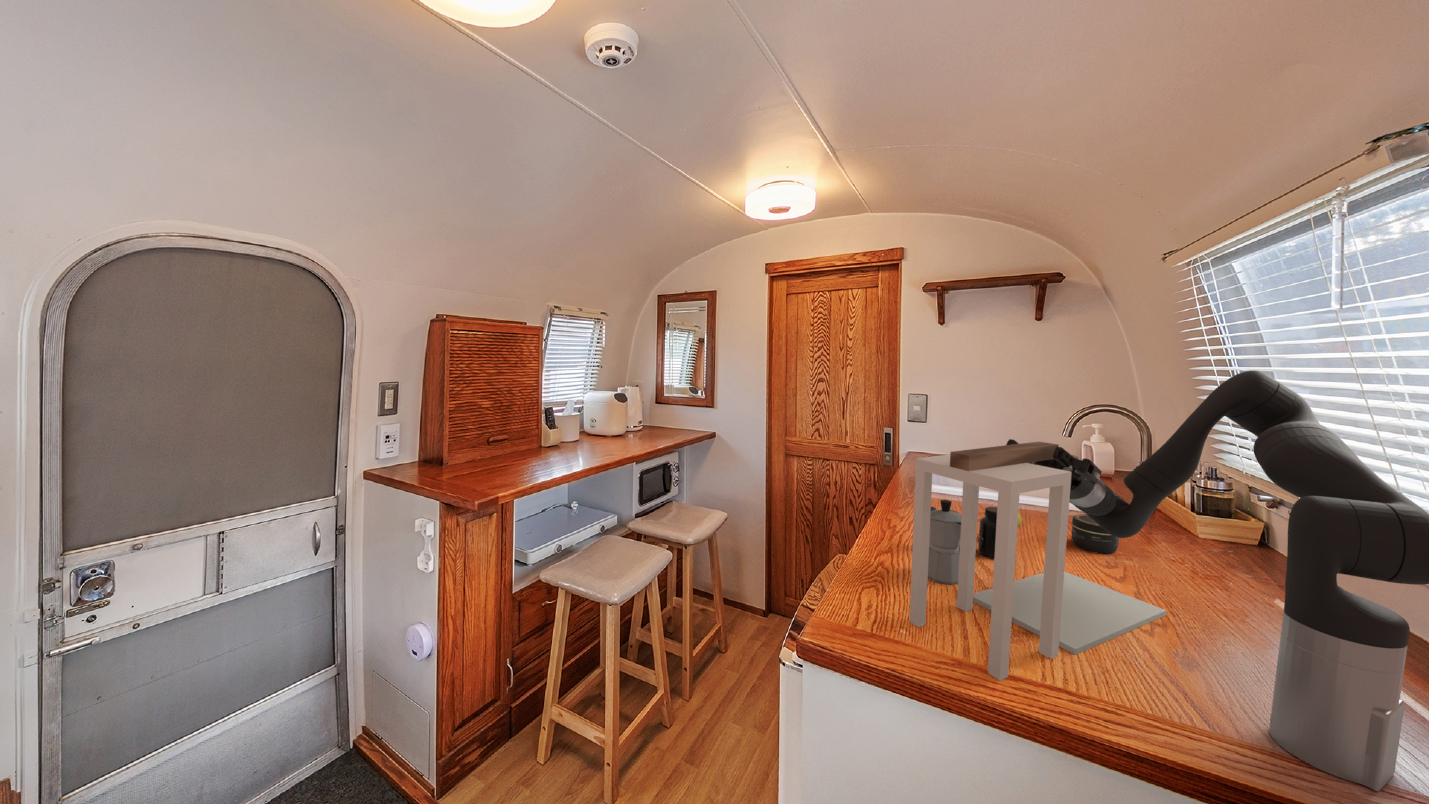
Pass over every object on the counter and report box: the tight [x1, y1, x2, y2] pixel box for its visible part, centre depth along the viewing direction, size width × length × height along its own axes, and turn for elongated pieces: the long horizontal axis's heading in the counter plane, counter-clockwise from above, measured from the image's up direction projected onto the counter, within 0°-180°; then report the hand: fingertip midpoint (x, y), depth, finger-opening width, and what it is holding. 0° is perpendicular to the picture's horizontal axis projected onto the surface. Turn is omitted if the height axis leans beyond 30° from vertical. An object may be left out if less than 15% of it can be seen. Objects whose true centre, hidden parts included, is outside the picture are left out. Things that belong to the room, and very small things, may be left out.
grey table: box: [909, 453, 1072, 682], centre depth 83 cm, size 18×15×32 cm
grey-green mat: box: [973, 570, 1167, 656], centre depth 95 cm, size 20×30×1 cm, turn 114°
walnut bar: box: [950, 441, 1060, 471], centre depth 83 cm, size 4×24×3 cm, turn 114°
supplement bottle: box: [977, 506, 997, 560], centre depth 119 cm, size 7×7×12 cm
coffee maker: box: [928, 499, 962, 586], centre depth 108 cm, size 15×9×18 cm, turn 22°
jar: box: [1071, 513, 1120, 555], centre depth 124 cm, size 10×10×8 cm
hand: (1031, 447), depth 86 cm, fingers open, 8 cm apart
